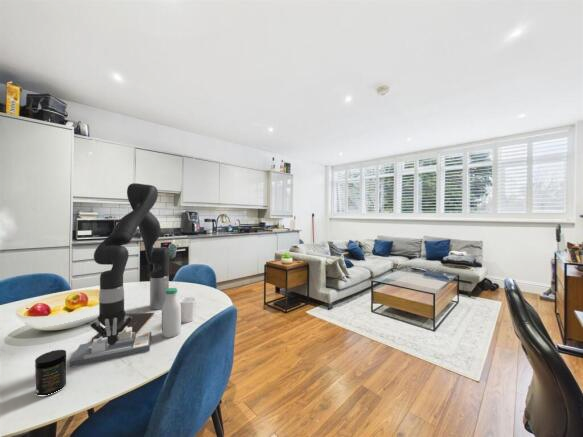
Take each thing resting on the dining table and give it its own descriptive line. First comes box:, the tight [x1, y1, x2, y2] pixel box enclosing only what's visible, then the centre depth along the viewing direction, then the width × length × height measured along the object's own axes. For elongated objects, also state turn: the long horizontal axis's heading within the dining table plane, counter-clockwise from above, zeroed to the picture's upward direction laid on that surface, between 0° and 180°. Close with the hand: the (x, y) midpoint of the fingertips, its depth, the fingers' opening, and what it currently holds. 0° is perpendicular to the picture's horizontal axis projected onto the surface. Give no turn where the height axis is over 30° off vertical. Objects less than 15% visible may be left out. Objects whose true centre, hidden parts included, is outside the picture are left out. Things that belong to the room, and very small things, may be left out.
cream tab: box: [119, 326, 132, 341], centre depth 99 cm, size 4×4×4 cm
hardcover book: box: [91, 312, 155, 343], centre depth 113 cm, size 16×23×2 cm
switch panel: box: [68, 331, 152, 368], centre depth 95 cm, size 12×24×3 cm, turn 117°
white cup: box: [178, 296, 197, 323], centre depth 122 cm, size 8×8×10 cm
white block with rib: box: [91, 337, 108, 354], centre depth 90 cm, size 4×4×4 cm
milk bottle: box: [161, 287, 182, 338], centre depth 108 cm, size 8×8×20 cm
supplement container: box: [34, 349, 67, 396], centre depth 74 cm, size 7×7×10 cm
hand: (112, 344), depth 92 cm, fingers closed
